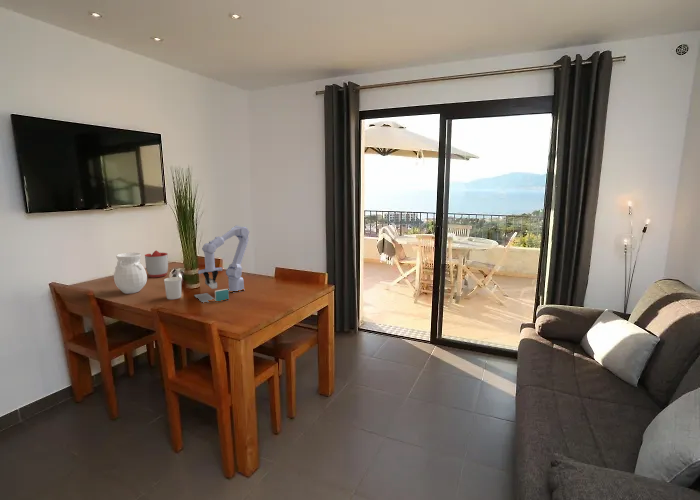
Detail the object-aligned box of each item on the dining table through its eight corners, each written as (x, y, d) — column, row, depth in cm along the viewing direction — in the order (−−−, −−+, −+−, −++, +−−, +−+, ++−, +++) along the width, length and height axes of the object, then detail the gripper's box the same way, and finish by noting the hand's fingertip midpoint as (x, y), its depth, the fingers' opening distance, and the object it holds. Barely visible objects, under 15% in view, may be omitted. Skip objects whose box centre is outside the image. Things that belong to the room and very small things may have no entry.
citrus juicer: (165, 272, 291) (164, 247, 288) (171, 276, 278) (169, 251, 275) (144, 274, 281) (141, 249, 278) (148, 279, 268) (146, 253, 265)
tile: (228, 299, 227) (227, 288, 226) (229, 300, 226) (228, 289, 225) (215, 301, 222) (214, 290, 221) (216, 302, 221) (215, 291, 220)
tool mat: (206, 293, 237) (206, 292, 237) (216, 300, 224) (216, 300, 224) (194, 295, 233) (194, 295, 232) (202, 303, 219) (202, 302, 219)
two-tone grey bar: (210, 283, 237) (209, 277, 236) (217, 288, 226) (217, 282, 225) (205, 283, 235) (205, 278, 234) (212, 288, 224) (212, 283, 223)
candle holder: (163, 300, 223) (162, 281, 221) (167, 295, 232) (165, 277, 230) (181, 299, 226) (179, 280, 223) (183, 294, 235) (182, 276, 233)
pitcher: (133, 296, 229) (129, 258, 224) (108, 294, 232) (104, 256, 228) (154, 288, 247) (151, 252, 242) (131, 286, 250) (127, 251, 246)
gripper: (219, 259, 235) (220, 279, 237) (195, 262, 226) (197, 283, 229) (223, 261, 229) (224, 282, 232) (199, 264, 221) (200, 286, 223)
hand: (211, 283), depth 230 cm, fingers closed on two-tone grey bar, 3 cm apart
